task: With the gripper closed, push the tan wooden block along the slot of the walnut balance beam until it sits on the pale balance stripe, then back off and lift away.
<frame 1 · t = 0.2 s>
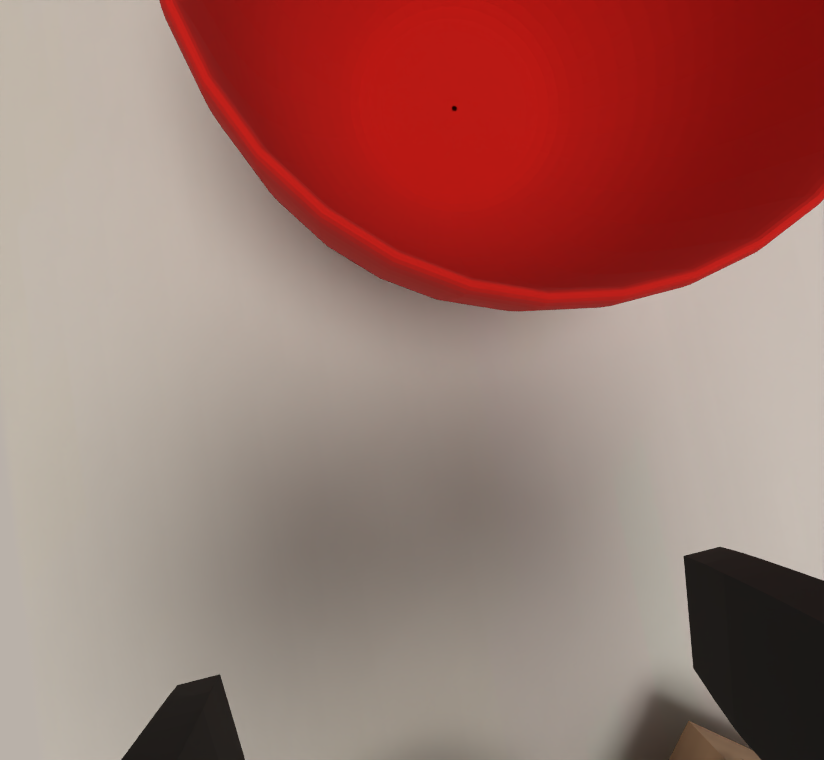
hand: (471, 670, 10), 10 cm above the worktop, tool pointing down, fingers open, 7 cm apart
ceramic cup: (452, 52, 20), on the worktop
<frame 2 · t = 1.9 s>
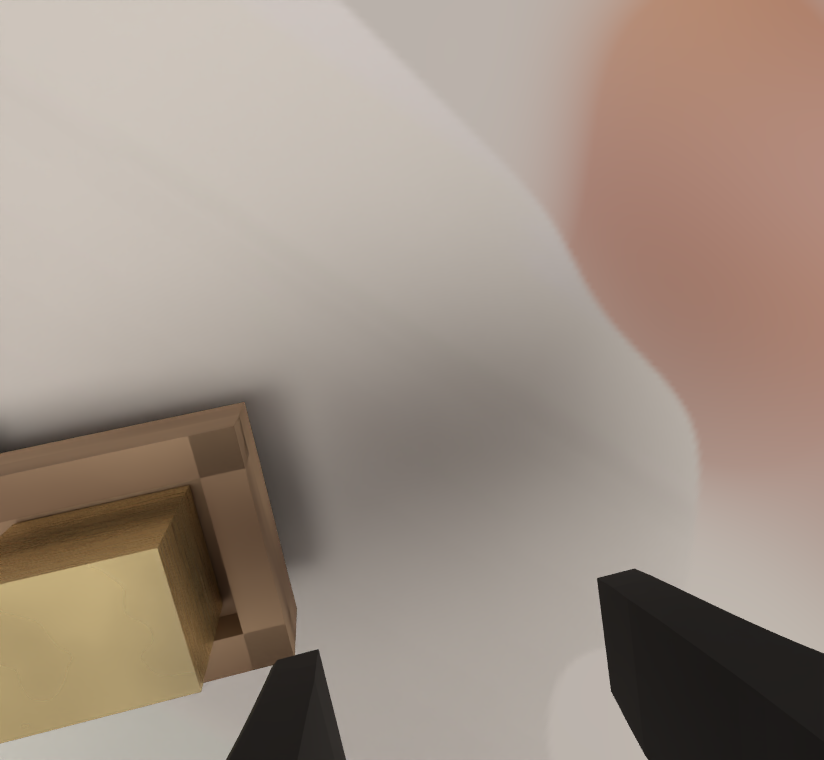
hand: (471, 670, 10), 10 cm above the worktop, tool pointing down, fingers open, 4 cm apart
tan wooden block: (100, 602, 14), point 5 cm above the worktop, slide at 0.0 cm
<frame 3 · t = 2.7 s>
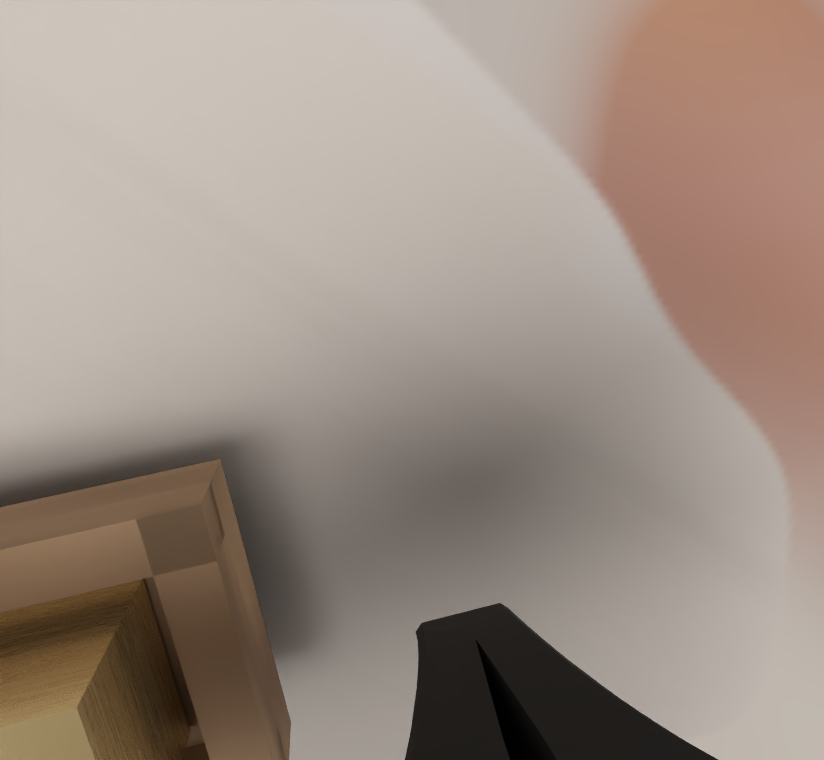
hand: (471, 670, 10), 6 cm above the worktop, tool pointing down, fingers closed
tan wooden block: (9, 756, 10), point 5 cm above the worktop, slide at 0.0 cm
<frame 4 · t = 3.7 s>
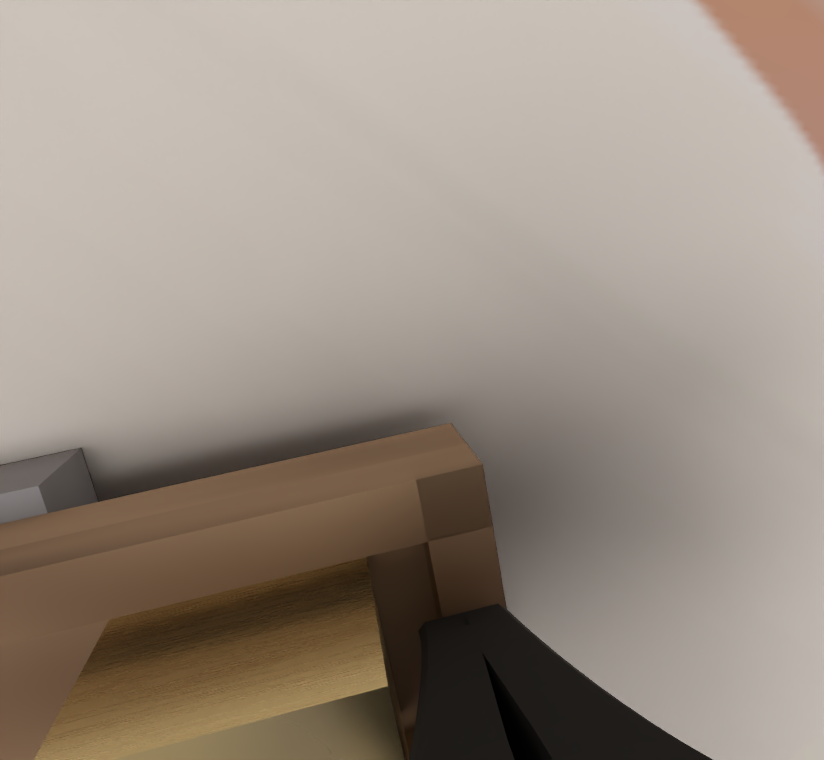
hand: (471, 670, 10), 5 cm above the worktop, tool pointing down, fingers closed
tan wooden block: (256, 742, 9), point 5 cm above the worktop, slide at 0.5 cm, touching gripper
beam: (57, 621, 13), on the worktop
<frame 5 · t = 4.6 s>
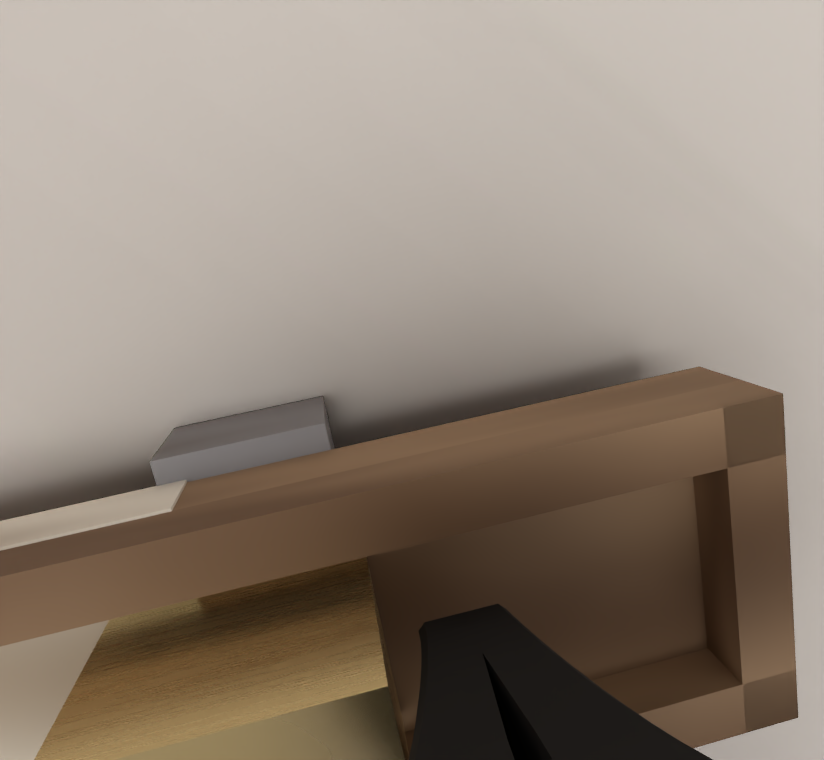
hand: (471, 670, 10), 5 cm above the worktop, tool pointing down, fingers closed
tan wooden block: (257, 742, 9), point 5 cm above the worktop, slide at 5.3 cm, touching gripper
beam: (288, 565, 14), on the worktop
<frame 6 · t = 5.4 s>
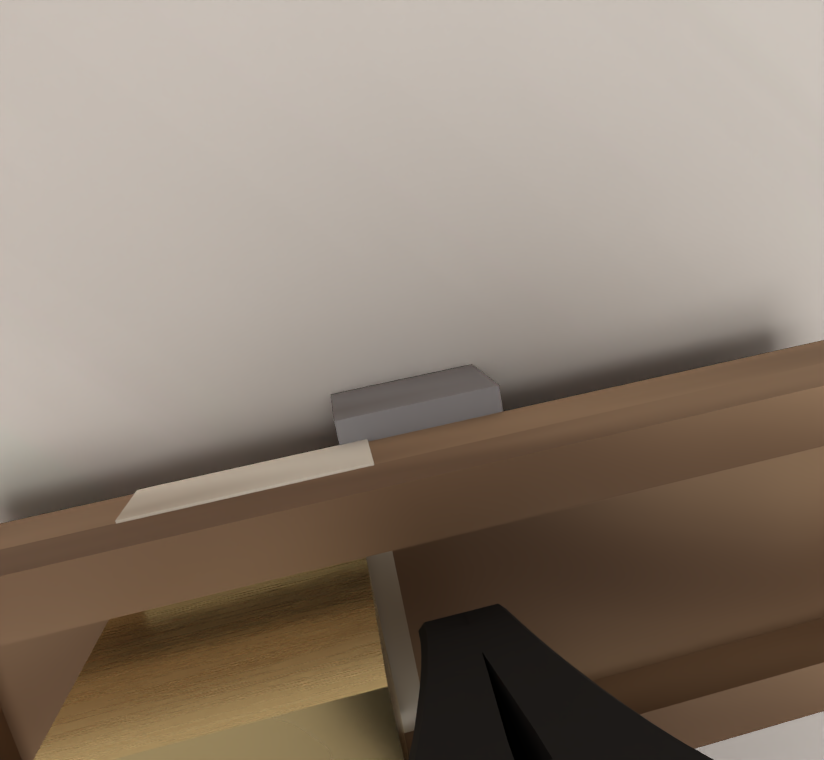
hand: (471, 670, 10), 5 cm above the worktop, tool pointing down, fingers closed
tan wooden block: (256, 742, 9), point 5 cm above the worktop, slide at 8.4 cm, touching gripper
beam: (431, 531, 14), on the worktop
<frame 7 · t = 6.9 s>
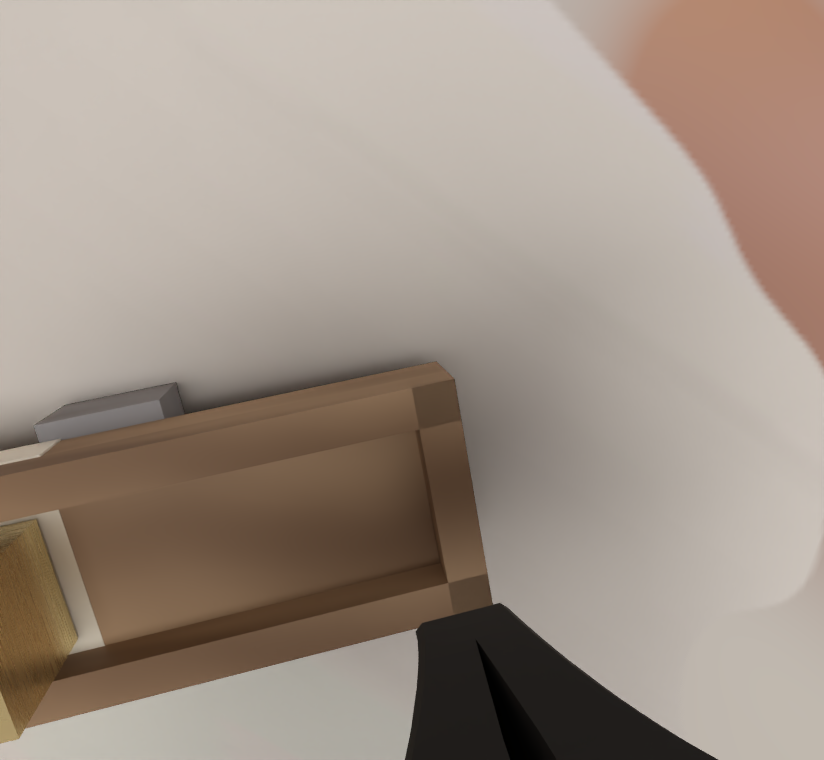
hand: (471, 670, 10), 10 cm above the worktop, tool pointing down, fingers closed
beam: (155, 509, 18), on the worktop
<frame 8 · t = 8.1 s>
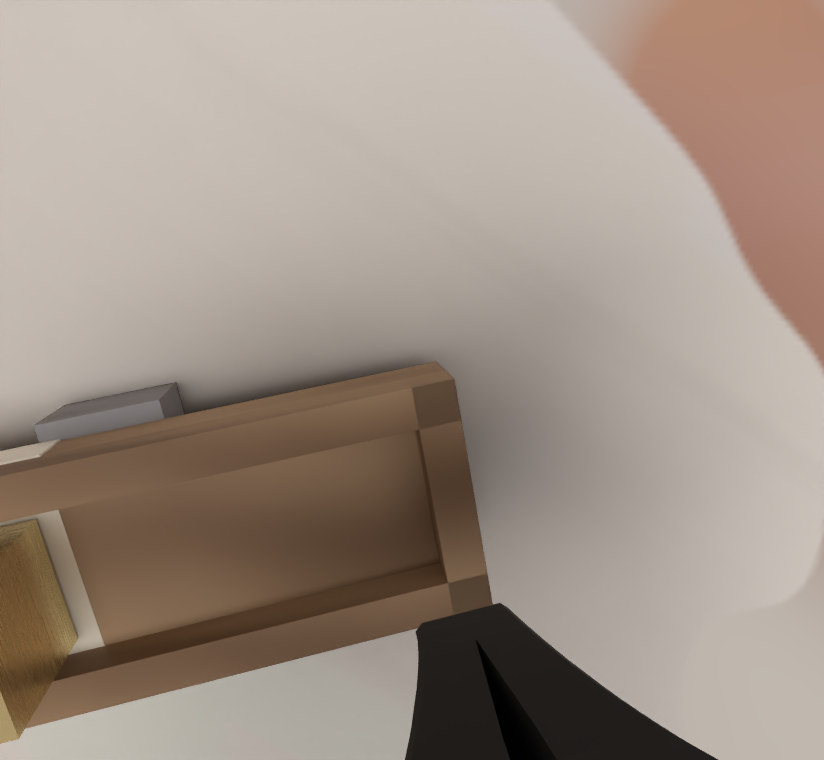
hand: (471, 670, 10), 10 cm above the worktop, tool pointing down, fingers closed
beam: (155, 509, 18), on the worktop
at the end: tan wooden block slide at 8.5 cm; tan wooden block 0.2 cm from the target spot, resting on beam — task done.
